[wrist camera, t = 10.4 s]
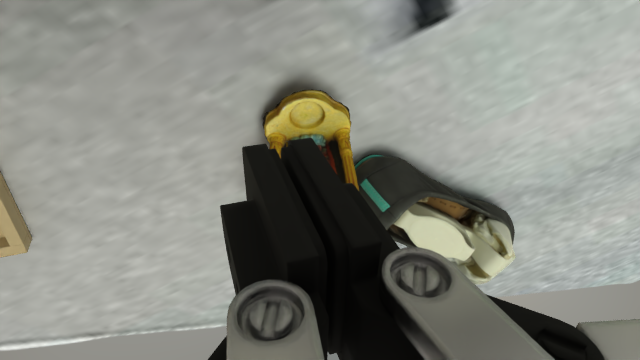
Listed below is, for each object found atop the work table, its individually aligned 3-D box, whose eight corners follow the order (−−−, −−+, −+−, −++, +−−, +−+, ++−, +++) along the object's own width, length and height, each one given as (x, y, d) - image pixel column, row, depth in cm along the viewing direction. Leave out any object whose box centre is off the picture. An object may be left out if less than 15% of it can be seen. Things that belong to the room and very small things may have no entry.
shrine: (316, 184, 45) (374, 285, 34) (243, 179, 42) (279, 289, 30) (350, 85, 40) (432, 163, 28) (269, 69, 37) (325, 151, 25)
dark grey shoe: (472, 264, 63) (520, 318, 55) (312, 210, 47) (346, 275, 39) (518, 212, 60) (576, 262, 52) (363, 135, 44) (412, 189, 36)
